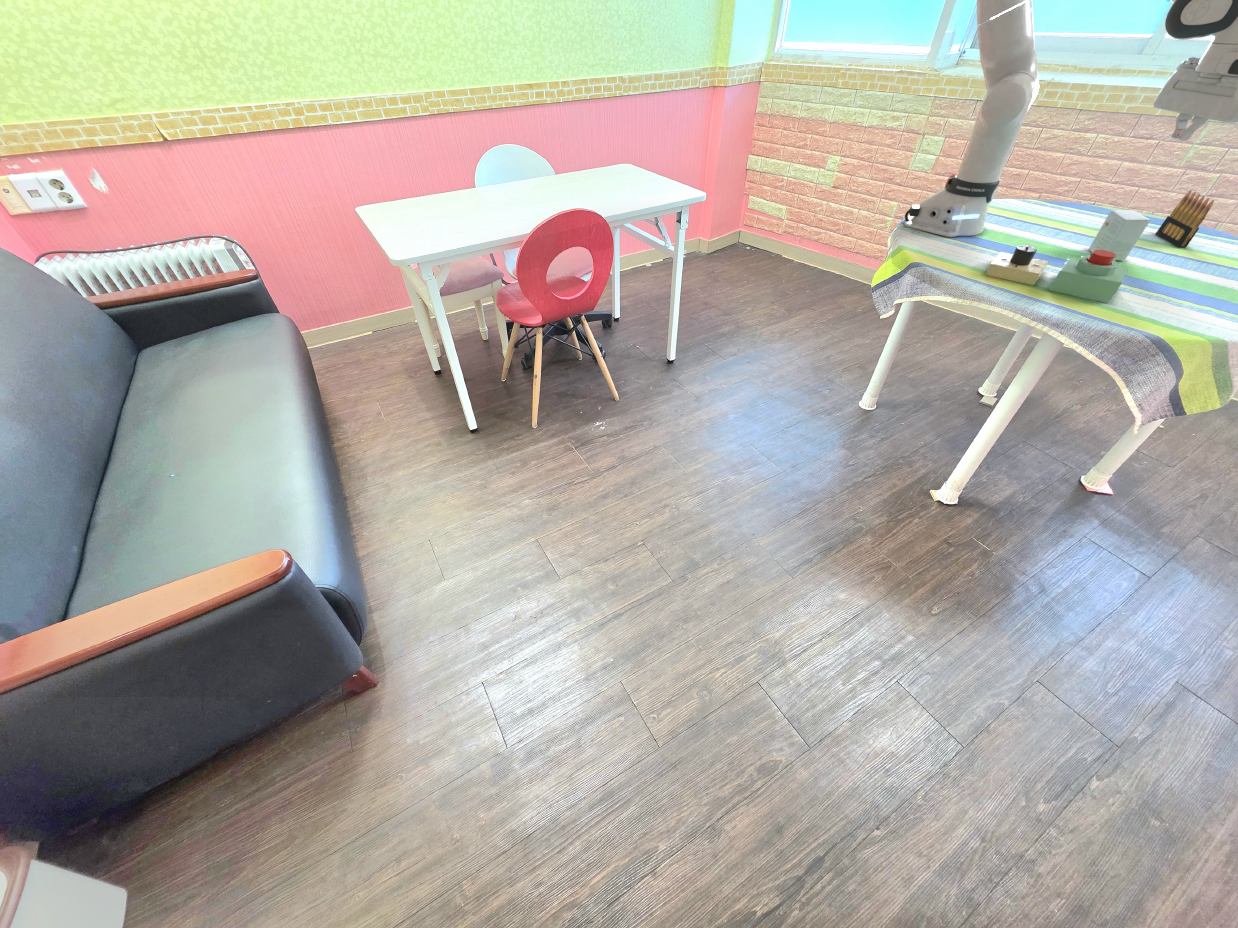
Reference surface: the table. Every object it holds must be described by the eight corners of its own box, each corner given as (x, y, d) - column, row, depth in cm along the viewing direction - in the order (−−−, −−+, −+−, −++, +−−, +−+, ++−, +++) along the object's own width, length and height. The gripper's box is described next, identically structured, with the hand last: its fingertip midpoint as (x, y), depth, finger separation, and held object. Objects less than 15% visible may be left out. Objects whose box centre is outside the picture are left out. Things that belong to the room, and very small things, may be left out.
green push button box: (1048, 290, 123) (1064, 262, 119) (1057, 277, 129) (1073, 249, 124) (1108, 303, 117) (1127, 274, 113) (1114, 288, 122) (1133, 260, 118)
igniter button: (1085, 264, 118) (1091, 254, 117) (1088, 258, 121) (1094, 248, 119) (1107, 268, 116) (1114, 258, 115) (1111, 262, 118) (1117, 252, 117)
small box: (1124, 261, 133) (1151, 220, 126) (1101, 260, 134) (1126, 219, 127) (1109, 250, 139) (1135, 210, 132) (1087, 249, 140) (1110, 209, 133)
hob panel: (985, 275, 131) (991, 263, 129) (995, 263, 137) (1001, 251, 134) (1033, 285, 126) (1040, 273, 124) (1042, 272, 131) (1049, 260, 129)
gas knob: (1028, 266, 127) (1036, 251, 124) (1008, 263, 129) (1016, 248, 126) (1030, 261, 129) (1038, 246, 127) (1011, 257, 131) (1018, 243, 129)
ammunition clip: (1154, 234, 146) (1184, 189, 138) (1161, 234, 146) (1192, 189, 137) (1178, 247, 138) (1212, 201, 130) (1186, 247, 138) (1220, 201, 130)
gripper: (1170, 57, 110) (1129, 131, 119) (1261, 67, 95) (1205, 150, 104) (1198, 55, 110) (1154, 129, 119) (1293, 65, 95) (1235, 148, 104)
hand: (1179, 139), depth 112 cm, fingers closed
